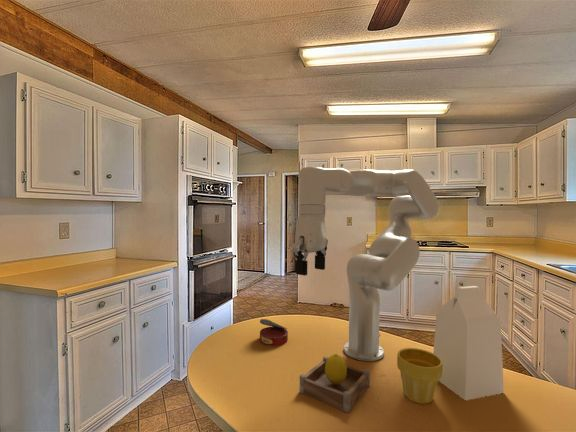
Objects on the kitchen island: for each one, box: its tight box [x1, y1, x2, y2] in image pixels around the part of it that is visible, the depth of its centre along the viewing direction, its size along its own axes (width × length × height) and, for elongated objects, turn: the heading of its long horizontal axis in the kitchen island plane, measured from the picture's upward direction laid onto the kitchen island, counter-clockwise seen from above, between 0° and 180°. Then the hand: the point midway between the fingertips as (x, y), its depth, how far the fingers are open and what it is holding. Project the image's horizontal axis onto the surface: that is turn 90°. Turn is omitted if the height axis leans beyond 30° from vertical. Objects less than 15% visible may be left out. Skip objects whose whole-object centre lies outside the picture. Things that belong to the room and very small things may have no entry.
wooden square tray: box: [299, 356, 371, 414], centre depth 80 cm, size 14×14×4 cm
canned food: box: [259, 318, 289, 347], centre depth 109 cm, size 11×10×10 cm
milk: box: [432, 285, 505, 401], centre depth 82 cm, size 12×12×26 cm
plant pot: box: [396, 347, 443, 404], centre depth 77 cm, size 10×10×10 cm
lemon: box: [325, 353, 347, 385], centre depth 80 cm, size 6×6×8 cm
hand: (311, 271), depth 88 cm, fingers open, 9 cm apart
